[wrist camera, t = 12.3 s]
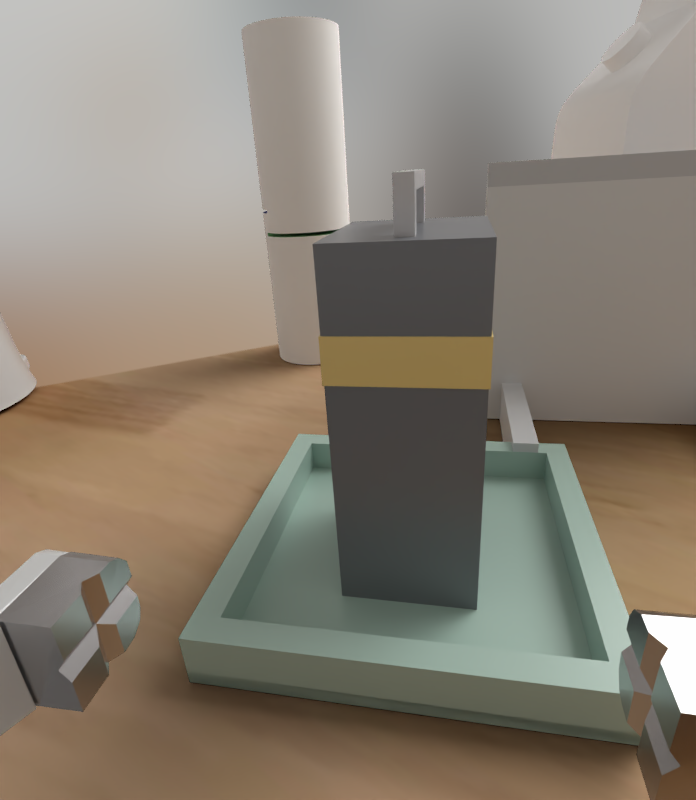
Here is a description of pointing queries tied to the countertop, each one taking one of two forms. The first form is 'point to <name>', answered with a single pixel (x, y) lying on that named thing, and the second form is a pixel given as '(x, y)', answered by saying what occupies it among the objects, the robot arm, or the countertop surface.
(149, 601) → the countertop surface
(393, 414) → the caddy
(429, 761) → the countertop surface
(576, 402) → the dock
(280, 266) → the cylindrical container
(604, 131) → the milk
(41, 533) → the countertop surface
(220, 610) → the tray
